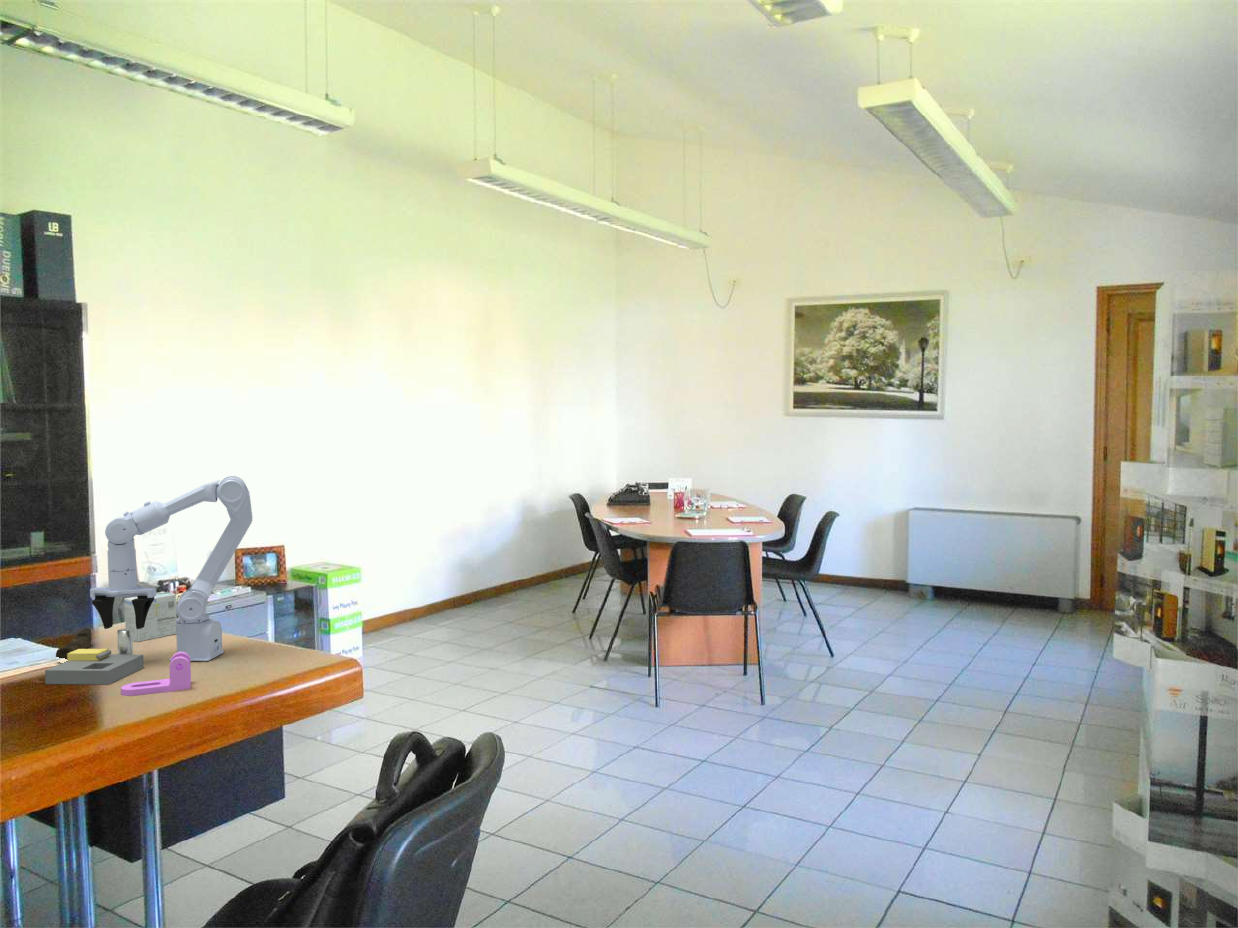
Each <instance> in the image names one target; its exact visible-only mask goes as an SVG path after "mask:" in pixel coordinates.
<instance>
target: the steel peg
mask: <svg viewBox="0 0 1238 928" xmlns="http://www.w3.org/2000/svg"><path fill="white" fill-rule="evenodd" d="M116 633H117V635H116V636H117V654H124V655H134V650H133V649H134V646H133V645H134V644H133V642H134V641H133V640H132V629H131V628H126V627H124V628H120V629H117V632H116Z"/></svg>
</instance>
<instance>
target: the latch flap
mask: <svg viewBox="0 0 1238 928" xmlns="http://www.w3.org/2000/svg"><path fill="white" fill-rule="evenodd" d="M110 654H112V650H110V649H109V648H89V649H77V650H75V651H72V652H70V653H67V660H68V661H98V660H100V659H103V658H105V657H107V656H109V655H110Z"/></svg>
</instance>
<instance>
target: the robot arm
mask: <svg viewBox="0 0 1238 928" xmlns="http://www.w3.org/2000/svg"><path fill="white" fill-rule="evenodd" d="M218 500H219V501H220V502H221V503H222V505H223V506H224V507H225V508H226V511H227V514H228V516H229V519H230V520H229V522H228V523H227V525H226V526H225V528H224V531H223V532H222V533H221V535H220V537H219V539H218V540H217V542H216V544H215V546H214V547H213V550H212V551H211V552H210V554H209V556H208V558H207V560H206V561H205V563H204V564H203V565H202V568H201V570H200V571H199V573H198V575H197V576H196V578H195V580H194V581H193V582H192V585H191V586H190V587H189V588H188V589H186V590H185V591H184V592H183V593H182V594H181V595H180V596H179V598H178V599H179V600H178V602H176V614H177V616H178V617H177V619H176V634H175V635H176V653H177V652H185V653H187V654H188V655H189V656H190V662H209V661H211V660H212V659H215V658H216V657H218V656H220V655H222V654H223V653H224V652H225V651H224V650H223V632H222V631H223V628H222V624H221V623H220V621H219V620H215V619H211V618H210V615H209V614H208V613H207V612H206V609H207V606H208V604H209V603H208V601H209V598H210V596H211V594H212V592H213V590H214V588H215V586H216V585H217V583H218V581H219V580H220V578H221V576H222V574H223V573H224V572H225V569H226V568H227V566H228V564H229V563H230V560H231V559H232V557H233V556H234V554H235V552H236V551H237V549H238V547H239V545H240V544H241V541H242V540H243V538H244V537H245V535H246V534H247V532H248V531H249V530H248V529H249V528H250V526H251V525H252V523H253V511H252V503H251V495H250V491H249V489H248V487H247V484H246V483H245V481H244V480H243V479H242V478H240V477H238V476H235V475H229V476H226V477H224V478H223V479H222V480H221V479H217V480H214V481H211V482H207V483H204V484H202V485H200V486H198V487H196V488H194V489H192V490H190V491H187V492H185V493H183V494H181V495H179V496H177V497H175V498H173V499H171V500H169V501H167V502H164V503H163V502H160V501H156V500H155V501H153V502H151V501H149V500H148V501H147V502H144V503H143V506H142V507H140V508H137V509H135V510H132V511H130V512H129V511H125V512H123V514H122V516H121V517H120V516H119V517H116V518H114V519H113V520H111V521H110V522H109V523H108V524H107V525H106V527H105V530H104V533H105V536H106V539H107V551H106V552H107V571H108V572H107V575H108V586H106V587H94V588H90V589H89V596H90V597H89V598H94V599H92V600H91V604H92V606H94V608H95V609H96V611H97V613H98V615H99V617H100V620H101V623H102V626H103V628H104V630H107V629H111V628H113V626H114V625H113V624H114V620H113V619H114V615H113V614H114V613H113V612H114V610H113V609H114V603H115V599H116V598H130V597H138V598H136V599H133V600H132V604H133V607H134V611H135V620H136V629H141V628H143V627H144V626H145V621H146V617H147V614H148V611H149V608H150V606H151V604H152V602H153V601H154V597H155V596H156V593H157V587H145V586H138V584H137V583H138V578H137V577H138V576H137V555H136V554H137V551H136V547H135V538H134V537H135V536H137V535H138V536H142V535H144V534H146V533H148V532H151V531H152V530H154V529H157V528H159V527H162V526H164V525H165V524H168V522H169V520H170V517H171V516H173V515H174V514H177V513H179V512H181V511H183V510H186V509H189V508H191V507H194V506H196V505H198V504H200V503H203V502H209V503H217V501H218ZM171 659H172V657H170V658H169V659H168V661H170V662H171Z"/></svg>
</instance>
